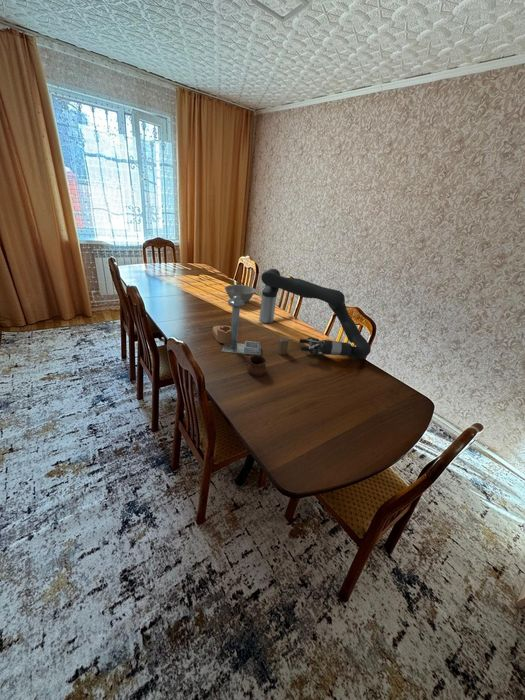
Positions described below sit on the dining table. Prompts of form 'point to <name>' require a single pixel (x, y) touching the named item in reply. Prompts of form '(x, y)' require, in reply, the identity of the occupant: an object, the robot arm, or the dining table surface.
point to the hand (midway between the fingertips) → (300, 344)
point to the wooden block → (282, 346)
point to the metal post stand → (233, 346)
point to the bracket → (222, 333)
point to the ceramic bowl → (240, 292)
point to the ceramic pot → (257, 366)
